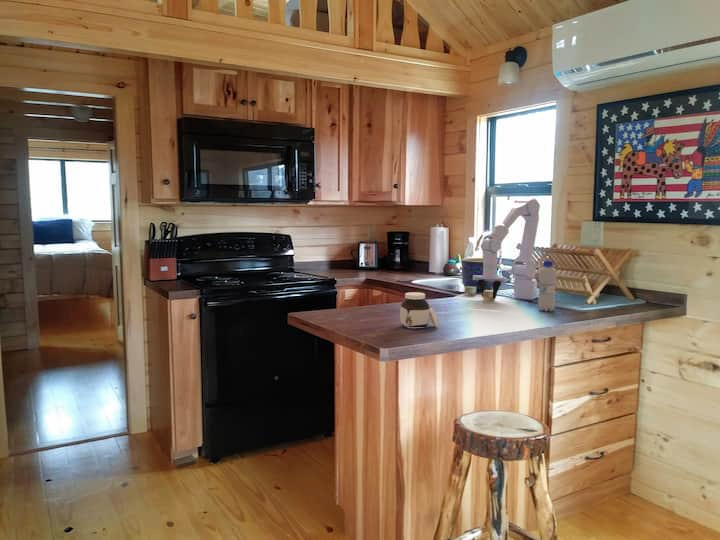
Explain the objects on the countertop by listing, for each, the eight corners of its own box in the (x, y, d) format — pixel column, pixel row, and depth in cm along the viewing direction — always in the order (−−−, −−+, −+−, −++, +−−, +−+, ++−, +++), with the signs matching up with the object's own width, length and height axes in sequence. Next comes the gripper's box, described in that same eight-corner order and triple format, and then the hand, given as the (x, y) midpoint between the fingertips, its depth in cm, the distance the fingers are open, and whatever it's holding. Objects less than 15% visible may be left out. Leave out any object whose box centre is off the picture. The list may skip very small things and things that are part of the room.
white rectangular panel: (506, 298, 258) (506, 296, 258) (495, 303, 244) (495, 302, 244) (463, 294, 268) (463, 293, 268) (450, 299, 254) (450, 298, 254)
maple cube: (495, 299, 250) (495, 290, 250) (492, 301, 247) (492, 291, 246) (486, 299, 252) (486, 289, 252) (483, 300, 249) (483, 291, 248)
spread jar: (396, 325, 201) (397, 292, 200) (421, 322, 208) (421, 290, 206) (419, 332, 191) (420, 297, 190) (444, 328, 198) (445, 294, 197)
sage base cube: (476, 295, 262) (476, 286, 261) (473, 296, 258) (473, 287, 258) (467, 294, 264) (467, 286, 263) (464, 296, 260) (464, 287, 260)
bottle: (546, 312, 225) (548, 261, 223) (533, 309, 231) (535, 260, 228) (558, 311, 228) (561, 260, 226) (546, 308, 234) (548, 259, 232)
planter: (473, 287, 288) (474, 257, 287) (503, 291, 277) (505, 259, 275) (453, 291, 277) (454, 259, 275) (484, 295, 265) (485, 262, 263)
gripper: (470, 266, 248) (469, 297, 250) (503, 268, 241) (502, 300, 242) (476, 264, 254) (475, 295, 256) (508, 266, 247) (507, 298, 248)
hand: (489, 297), depth 249 cm, fingers closed on maple cube, 4 cm apart
